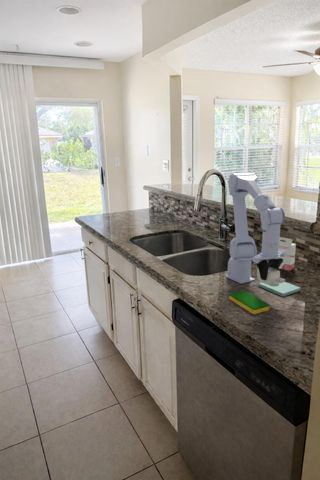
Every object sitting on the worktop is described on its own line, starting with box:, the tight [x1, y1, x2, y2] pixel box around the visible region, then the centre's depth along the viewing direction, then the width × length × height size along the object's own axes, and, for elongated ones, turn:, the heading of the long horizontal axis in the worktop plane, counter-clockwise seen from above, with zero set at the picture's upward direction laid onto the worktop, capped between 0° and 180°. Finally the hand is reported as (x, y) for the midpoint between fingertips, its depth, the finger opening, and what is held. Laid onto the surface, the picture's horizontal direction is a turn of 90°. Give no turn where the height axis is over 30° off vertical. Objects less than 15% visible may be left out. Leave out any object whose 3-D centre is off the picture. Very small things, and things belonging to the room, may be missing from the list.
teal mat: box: [258, 281, 301, 297], centre depth 137 cm, size 12×10×1 cm
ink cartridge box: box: [278, 236, 297, 272], centre depth 157 cm, size 9×5×15 cm, turn 47°
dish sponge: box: [228, 290, 270, 315], centre depth 124 cm, size 7×14×2 cm, turn 25°
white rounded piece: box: [256, 267, 286, 287], centre depth 124 cm, size 11×4×5 cm, turn 31°
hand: (267, 278), depth 126 cm, fingers closed on white rounded piece, 4 cm apart
